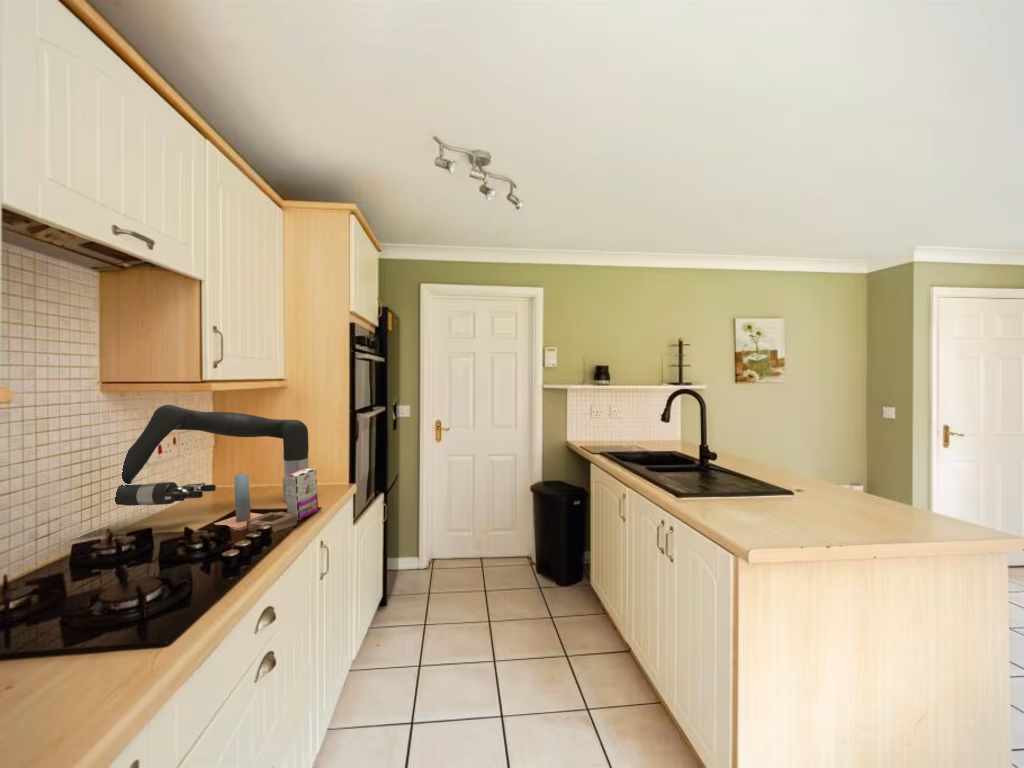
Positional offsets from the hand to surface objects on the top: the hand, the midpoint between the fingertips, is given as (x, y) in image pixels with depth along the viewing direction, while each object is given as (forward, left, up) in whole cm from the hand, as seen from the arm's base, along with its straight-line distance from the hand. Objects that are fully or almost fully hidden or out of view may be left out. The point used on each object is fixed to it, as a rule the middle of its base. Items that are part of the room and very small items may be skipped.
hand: (208, 490), depth 156 cm
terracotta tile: (+9, +6, -12) cm, 16 cm away
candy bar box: (+24, +18, -12) cm, 32 cm away
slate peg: (+9, +6, -11) cm, 15 cm away
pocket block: (+23, +6, -12) cm, 27 cm away
